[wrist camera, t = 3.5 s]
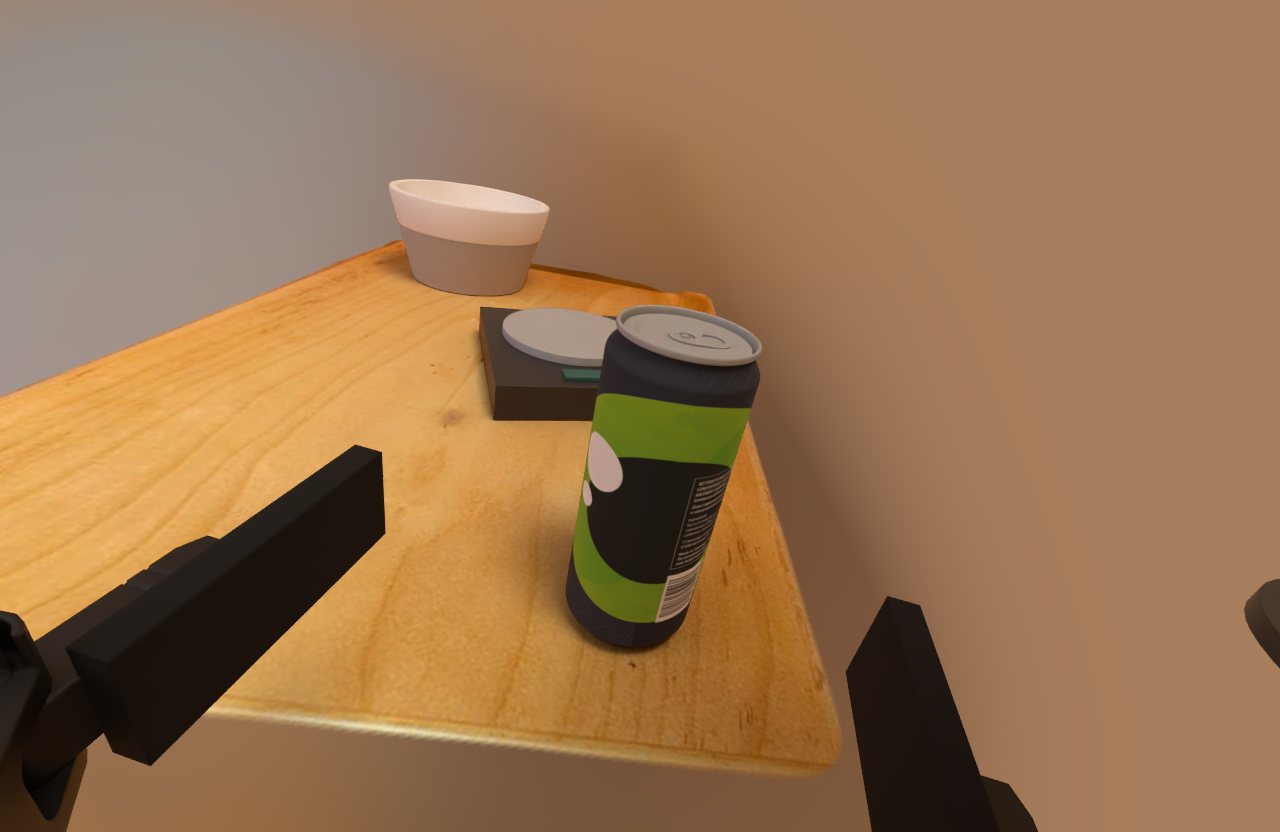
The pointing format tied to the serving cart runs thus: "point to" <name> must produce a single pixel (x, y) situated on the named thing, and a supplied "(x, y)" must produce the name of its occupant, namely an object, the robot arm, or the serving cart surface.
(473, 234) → the bowl
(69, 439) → the serving cart surface
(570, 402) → the scale
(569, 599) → the beverage can
